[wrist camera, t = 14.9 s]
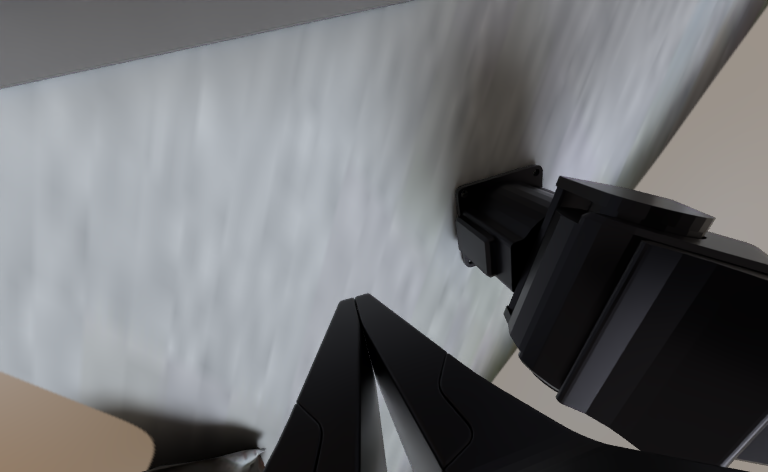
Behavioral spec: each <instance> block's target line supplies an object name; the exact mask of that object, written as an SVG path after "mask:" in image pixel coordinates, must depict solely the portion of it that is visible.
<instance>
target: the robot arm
mask: <svg viewBox="0 0 768 472" xmlns="http://www.w3.org/2000/svg"><path fill="white" fill-rule="evenodd" d="M534 170H536V172H535V173H534V174H533V172H534ZM542 177H543V170H542V167H541V166H539V165H535V164H534V165H530V166H526V167H523V168H520V169H516V170H513V171H510V172H506V173H503V174H500V175H496V176H493V177H490V178H486V179H483V180H480V181H476V182H473V183H469V184H466V185H463V186H460V187H459V188H458V189H457V190H456V193H455V196H456V204H457V213H458V217H457V218H456V229H457V237H458V245H459V250H460V251H461V252H462V256H463V262H464V264H465V265H466V266H468V267H473V266H477V267H478V268H479V269H480V270H481V271H482V272H483V273H484V274H486V275H487V276H489V277H493V276H496V277H497V278H498V279H499V280H500V281H501V282H502V283H503V284H505V285H506V286H507V287H508V288H509V289H510V290H511V291H512V292H514V294H513V296H512V299H511V301H510V304H509V306H506V309H505V311H504V316H505V318H506V321H507V323H508V327H509V333H510V336H511V337H512V339H513V341H514V342H515V344H516V346H517V347H518V349H519V350H520V352H519V354H518V355H519V358H520V360H521V361H522V363H523V364H525V366H526V367H527V368H529V369H530V370H531V371H532V373H533V374H534V375H535V376H536V377H537V378H538V379H539V380H541V381H542V382H543V383H544V384H546V385H547V386H548V387H550V388H551V389H553V390H554V391H556V392H558V394H557V395H556V399H557V400H558V401H559V402H560V403H561V404H563V405H566V406H568V407H571V408H573V409H575V410H578V411H580V412H582V413H585V414H587V415H588V416H590V417H592V418H593V419H595V420H597V421H599V422H600V423H602V424H604V425H606V426H607V427H609V428H610V429H612V430H613V431H615V432H616V433H617V434H619V435H620V436H622V437H623V438H625V439H626V440H627V441H628V442H630V443H631V444H633V445H634V446H635V447H636V448H638V449H639V450H640V451H639V450H634V449H628V448H623V447H618V446H613V445H608V444H604V443H602V442H598V441H595V440H593V439H590V438H587V437H585V436H583V435H580V434H578V433H576V432H574V431H572V430H570V429H568V428H566V427H565V426H563V425H561V424H559V423H558V422H555V421H554V420H552V419H551V418H549V417H547V416H546V415H544V414H542V413H541V412H539V411H537V410H535V409H534V408H532V407H530V406H529V405H527V404H525V403H524V402H522V401H520V400H519V399H517V398H515V397H514V396H512V395H510V394H509V393H507V392H505V391H503V390H502V389H500V388H498V387H497V386H495V385H494V384H492V383H490V382H489V381H487V380H486V379H484V378H482V377H481V376H479V375H478V374H476V373H475V372H473V371H472V370H471V369H469V368H468V367H466V366H465V365H464V364H462V363H461V362H459V361H458V360H457V359H455V358H454V357H453V356H452V355H450V354H447V352H446V351H445V350H443V349H442V348H441V347H439V346H438V345H437V344H435V343H434V342H433V341H431V340H430V339H429V338H427V337H426V336H425V335H424V334H422V333H421V332H420V331H418V330H417V329H416V328H414V327H413V326H412V325H410V324H409V323H408V322H406V321H405V320H404V319H402V318H401V317H400V316H398V315H397V314H396V313H394V312H393V311H392V310H390V309H389V308H388V307H386V306H385V305H384V304H382V303H381V302H380V301H378V300H377V299H376V298H374V297H373V296H372V295H371V294H369V293H367V294H363V295H360V296H357V297H356V298H355V299H354V298H349V299H346V300H343V301H340V302H339V304H338V307H337V309H336V311H335V313H334V316H333V318H332V320H331V323H330V325H329V327H328V330H327V332H326V334H325V337H324V339H323V341H322V344H321V346H320V348H319V350H318V353H317V355H316V357H315V360H314V362H313V364H312V367H311V369H310V371H309V374H308V376H307V378H306V380H305V383H304V385H303V387H302V390H301V392H300V394H299V397H298V399H297V401H296V402H297V404H295V405H294V408H293V410H292V412H291V415H290V417H289V419H288V422H287V424H286V426H285V428H284V430H283V432H282V434H281V437H280V439H279V441H278V443H277V445H276V447H275V449H274V451H273V453H272V455H271V456H270V458H269V460H268V462H267V464H266V466H265V468H264V470H263V472H387V466H386V459H385V451H384V443H383V436H382V428H381V420H380V412H379V405H378V397H377V389H376V382H375V377H376V379H377V382H378V385H379V387H380V390H381V392H382V395H383V397H384V400H385V402H386V405H387V407H388V410H389V412H390V415H391V417H392V420H393V422H394V425H395V427H396V430H397V432H398V435H399V437H400V440H401V442H402V445H403V447H404V450H405V452H406V455H407V457H408V460H409V462H410V465H411V467H412V470H413V472H748V471H743V470H738V469H732V468H727V467H728V466H729V465H730V464H731V463H732V462H733V461H734V460H740V461H745V462H750V463H755V464H761V465H766V466H768V255H767V254H766V253H765V252H763V251H762V250H761V249H759V248H758V247H756V246H754V245H752V244H749V243H747V242H743V241H739V240H736V239H733V238H729V237H726V236H722V235H719V234H715V233H711V232H708V230H709V228H710V227H711V225H712V223H713V222H714V220H715V218H714V217H713V216H710V215H708V214H705V213H703V212H700V211H698V210H695V209H693V208H691V207H688V206H686V205H684V204H681V203H679V202H676V201H674V200H671V199H667V198H664V197H659V196H656V195H651V194H648V193H643V192H640V191H636V190H632V189H628V188H623V187H618V186H613V185H607V184H602V183H597V182H591V181H586V180H580V179H575V178H570V177H564V176H559V178H558V181H557V183H556V186H557V189H556V191H555V192H553V191H550V190H548V189H545V188H542ZM463 191H465V195H464V196H461V193H462V192H463ZM469 260H471V261H470V262H469ZM356 305H357V306H356ZM357 309H358V310H357ZM363 332H364V333H363ZM368 351H369V352H368ZM369 355H370V356H369ZM370 359H371V360H370ZM372 366H373V367H372ZM373 370H374V372H373ZM374 373H375V376H374Z"/></svg>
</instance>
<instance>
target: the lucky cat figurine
mask: <svg viewBox="0 0 768 472" xmlns="http://www.w3.org/2000/svg"><path fill="white" fill-rule="evenodd" d="M264 451H265V449H264V448H262V449H259V448H258V447H257V449H253V450H243V451H239V452H236V453H232V454H228V455H224V456H220V457H216V458H211V459H205V460H199V461H193V462H187V463H180V464H172V465H164V466H159V467H155V468H154V469H151V470H147V471H143V472H263V470H264V468H265V466H264V463H263V461H262V459H261V457H260V453H262V452H264Z"/></svg>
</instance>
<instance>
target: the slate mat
mask: <svg viewBox="0 0 768 472" xmlns="http://www.w3.org/2000/svg"><path fill="white" fill-rule="evenodd" d="M408 1H413V0H0V89H3V88H7V87H12V86H17V85H21V84H26V83H31V82H35V81H40V80H45V79H49V78H54V77H59V76H63V75H68V74H73V73H77V72H82V71H87V70H91V69H96V68H101V67H105V66H110V65H115V64H119V63H124V62H129V61H133V60H138V59H143V58H147V57H152V56H157V55H161V54H166V53H171V52H175V51H180V50H185V49H189V48H194V47H198V46H203V45H208V44H212V43H217V42H222V41H226V40H231V39H236V38H240V37H245V36H250V35H254V34H259V33H264V32H268V31H273V30H278V29H282V28H287V27H292V26H296V25H301V24H306V23H310V22H315V21H320V20H324V19H329V18H334V17H338V16H343V15H348V14H352V13H357V12H362V11H366V10H371V9H376V8H380V7H385V6H389V5H394V4H399V3H403V2H408Z"/></svg>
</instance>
